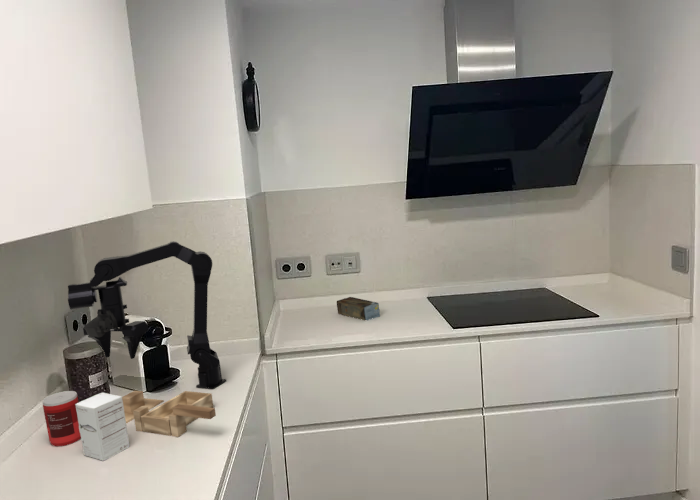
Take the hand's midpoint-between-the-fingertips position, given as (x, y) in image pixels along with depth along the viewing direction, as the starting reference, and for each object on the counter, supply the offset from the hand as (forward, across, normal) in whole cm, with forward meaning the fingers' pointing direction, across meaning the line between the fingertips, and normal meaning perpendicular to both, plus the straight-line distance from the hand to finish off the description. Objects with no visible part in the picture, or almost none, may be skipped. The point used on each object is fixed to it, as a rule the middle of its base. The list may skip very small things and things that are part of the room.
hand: (120, 357), depth 155 cm
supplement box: (+13, +18, -24) cm, 33 cm away
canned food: (+13, +2, -22) cm, 26 cm away
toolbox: (+13, +24, -7) cm, 28 cm away
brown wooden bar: (+8, +35, -14) cm, 38 cm away
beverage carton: (+13, +34, +93) cm, 100 cm away
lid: (+14, +6, -5) cm, 16 cm away
